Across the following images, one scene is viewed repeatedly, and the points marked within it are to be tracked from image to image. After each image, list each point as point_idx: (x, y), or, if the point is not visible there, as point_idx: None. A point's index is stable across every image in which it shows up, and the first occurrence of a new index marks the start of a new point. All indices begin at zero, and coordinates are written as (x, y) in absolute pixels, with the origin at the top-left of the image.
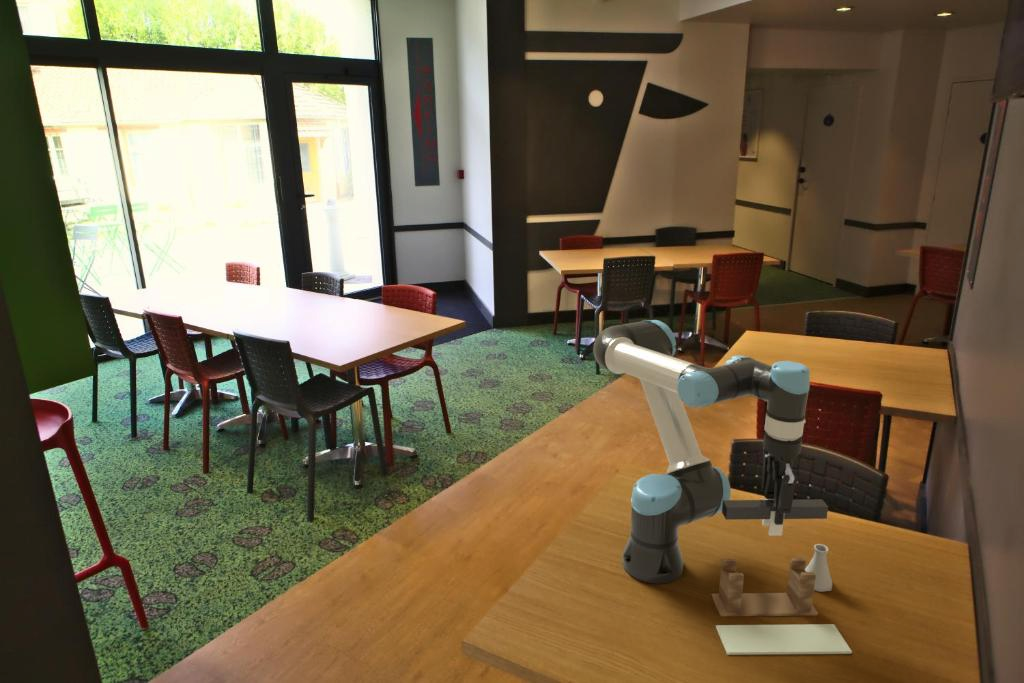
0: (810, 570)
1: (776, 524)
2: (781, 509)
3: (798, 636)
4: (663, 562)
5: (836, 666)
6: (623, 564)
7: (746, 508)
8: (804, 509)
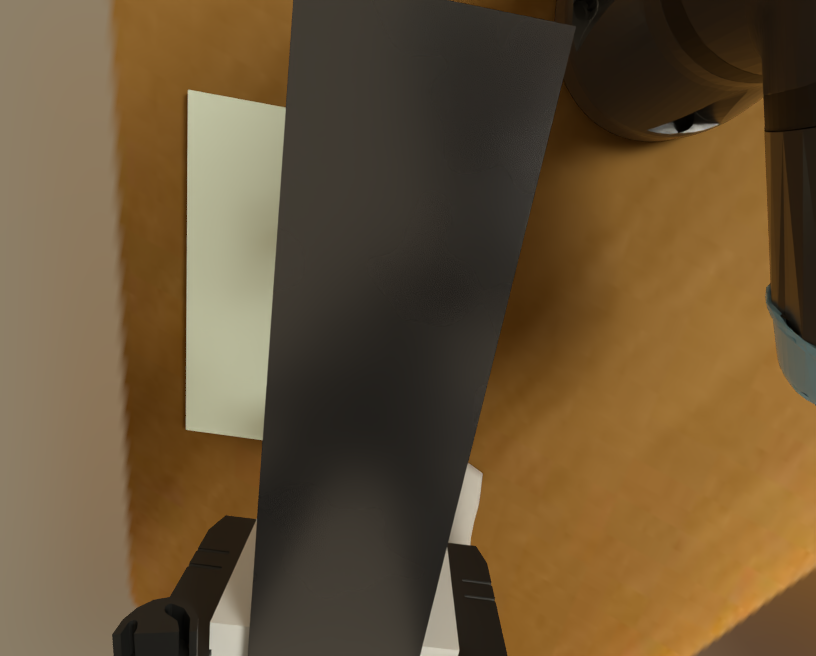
0: None
1: (223, 521)
2: None
3: (242, 334)
4: None
5: (148, 370)
6: None
7: (273, 342)
8: None
